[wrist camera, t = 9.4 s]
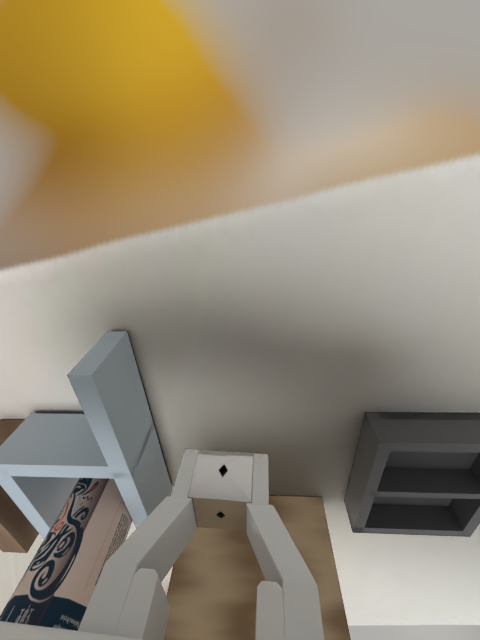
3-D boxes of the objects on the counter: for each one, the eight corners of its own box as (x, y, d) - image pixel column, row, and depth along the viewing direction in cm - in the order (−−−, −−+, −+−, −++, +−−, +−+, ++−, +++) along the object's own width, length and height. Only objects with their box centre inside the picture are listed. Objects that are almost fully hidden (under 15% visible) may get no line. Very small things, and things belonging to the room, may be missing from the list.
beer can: (109, 430, 21) (-35, 684, 11) (162, 456, 22) (79, 707, 12) (86, 459, 23) (-54, 698, 13) (136, 481, 24) (46, 716, 14)
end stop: (25, 419, 21) (-35, 484, 17) (66, 487, 25) (27, 552, 21) (1, 419, 21) (-65, 483, 17) (46, 486, 26) (2, 551, 21)
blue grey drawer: (126, 331, 16) (91, 375, 13) (172, 489, 24) (158, 543, 21) (-16, 333, 17) (-87, 375, 13) (73, 486, 25) (43, 538, 21)
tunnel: (332, 432, 20) (485, 953, 7) (320, 504, 25) (396, 898, 11) (173, 430, 21) (25, 890, 8) (190, 500, 25) (117, 863, 12)
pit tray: (503, 413, 18) (535, 444, 16) (450, 503, 23) (469, 536, 21) (365, 412, 19) (379, 442, 17) (344, 500, 24) (352, 532, 22)
